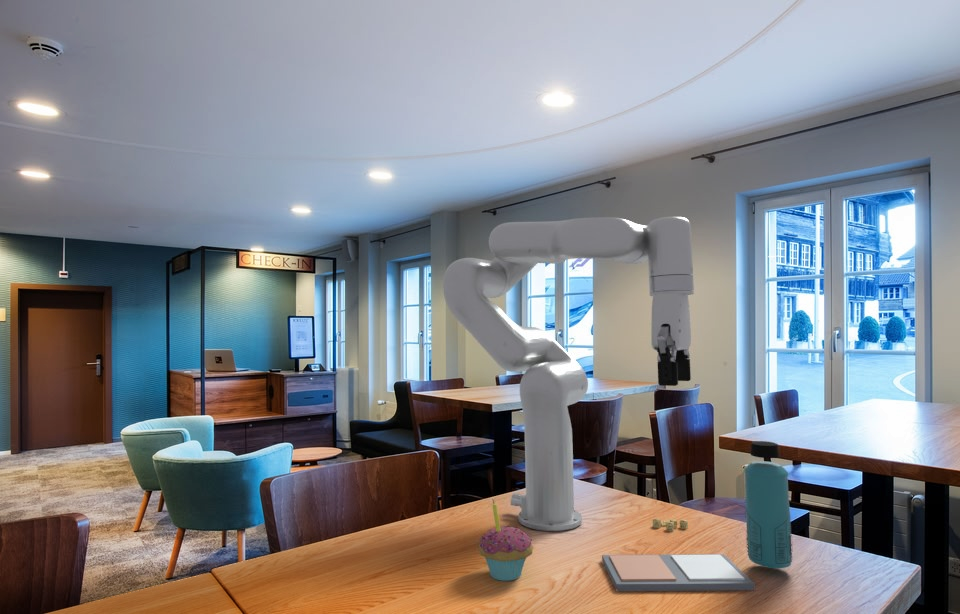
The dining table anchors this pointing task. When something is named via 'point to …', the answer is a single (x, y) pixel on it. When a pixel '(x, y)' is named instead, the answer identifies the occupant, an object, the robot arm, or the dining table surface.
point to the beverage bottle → (767, 509)
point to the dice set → (670, 524)
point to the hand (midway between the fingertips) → (675, 382)
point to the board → (675, 573)
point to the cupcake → (505, 550)
